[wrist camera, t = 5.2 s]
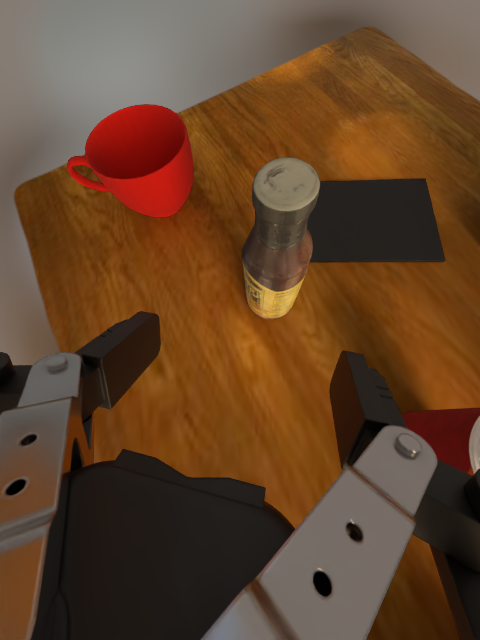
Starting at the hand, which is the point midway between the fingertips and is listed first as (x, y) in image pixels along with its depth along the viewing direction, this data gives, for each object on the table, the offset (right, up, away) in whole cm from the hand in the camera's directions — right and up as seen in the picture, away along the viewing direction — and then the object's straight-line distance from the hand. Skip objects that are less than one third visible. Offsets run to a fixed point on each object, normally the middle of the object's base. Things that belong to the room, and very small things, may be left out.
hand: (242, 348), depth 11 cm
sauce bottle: (+4, +4, +23) cm, 24 cm away
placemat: (+17, +16, +26) cm, 35 cm away
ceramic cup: (-14, +20, +30) cm, 39 cm away
